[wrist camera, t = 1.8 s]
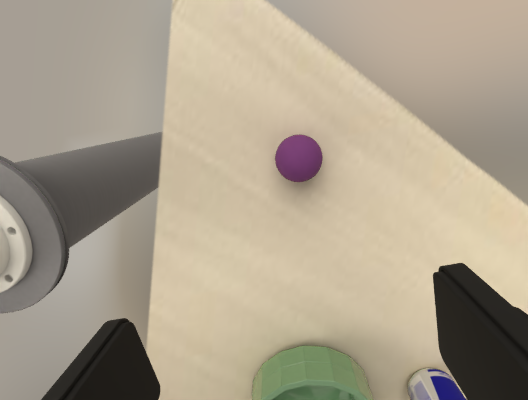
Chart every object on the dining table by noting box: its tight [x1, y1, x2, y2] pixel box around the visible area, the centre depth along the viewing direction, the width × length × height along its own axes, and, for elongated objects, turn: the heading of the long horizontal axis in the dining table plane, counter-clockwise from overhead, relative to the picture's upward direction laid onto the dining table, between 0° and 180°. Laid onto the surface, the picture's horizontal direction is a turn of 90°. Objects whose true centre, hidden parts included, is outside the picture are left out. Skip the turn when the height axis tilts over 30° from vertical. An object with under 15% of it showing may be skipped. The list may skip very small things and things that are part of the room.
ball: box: [275, 135, 322, 182], centre depth 26 cm, size 4×4×4 cm
